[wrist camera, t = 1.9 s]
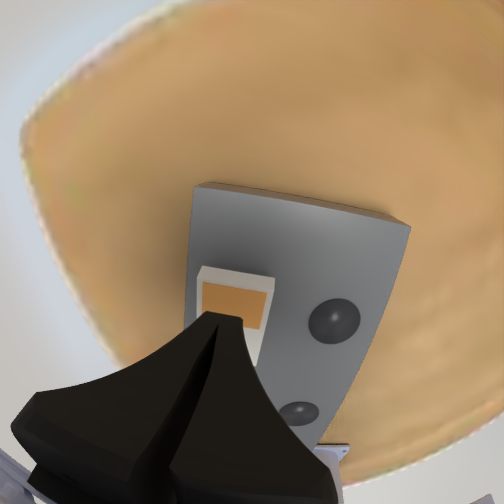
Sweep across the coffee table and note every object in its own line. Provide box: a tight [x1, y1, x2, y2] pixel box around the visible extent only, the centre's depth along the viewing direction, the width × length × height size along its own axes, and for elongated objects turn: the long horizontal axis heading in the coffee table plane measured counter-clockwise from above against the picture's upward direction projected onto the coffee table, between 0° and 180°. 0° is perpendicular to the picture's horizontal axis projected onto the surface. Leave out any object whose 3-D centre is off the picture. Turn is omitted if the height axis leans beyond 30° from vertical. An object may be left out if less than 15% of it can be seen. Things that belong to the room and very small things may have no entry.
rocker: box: [197, 266, 275, 366], centre depth 15 cm, size 6×4×1 cm, turn 172°
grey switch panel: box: [184, 182, 411, 452], centre depth 19 cm, size 22×12×3 cm, turn 172°
